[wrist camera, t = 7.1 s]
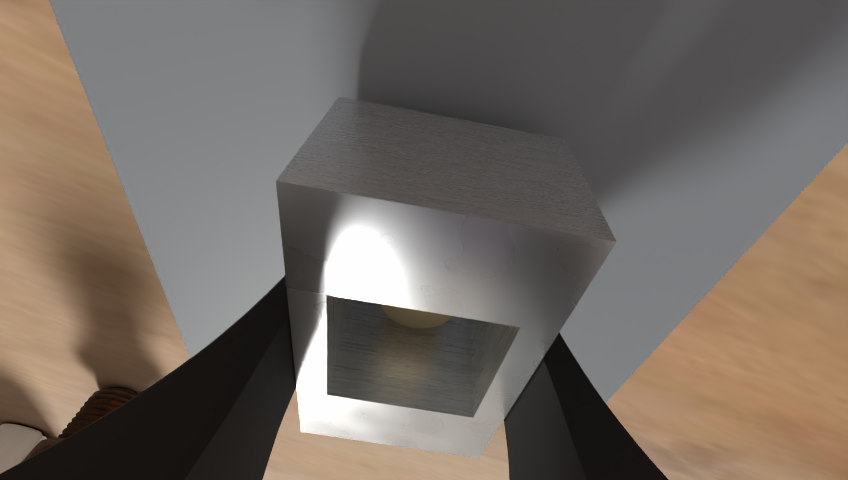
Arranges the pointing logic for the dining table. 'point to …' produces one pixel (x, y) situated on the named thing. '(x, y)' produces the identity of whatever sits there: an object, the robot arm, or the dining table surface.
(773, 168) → the pin board
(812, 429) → the dining table surface
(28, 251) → the dining table surface
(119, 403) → the bolt
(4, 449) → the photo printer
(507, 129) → the block with square hole
